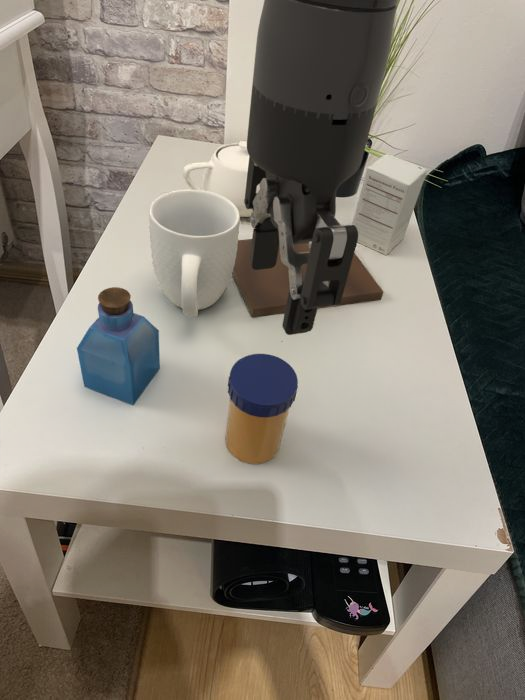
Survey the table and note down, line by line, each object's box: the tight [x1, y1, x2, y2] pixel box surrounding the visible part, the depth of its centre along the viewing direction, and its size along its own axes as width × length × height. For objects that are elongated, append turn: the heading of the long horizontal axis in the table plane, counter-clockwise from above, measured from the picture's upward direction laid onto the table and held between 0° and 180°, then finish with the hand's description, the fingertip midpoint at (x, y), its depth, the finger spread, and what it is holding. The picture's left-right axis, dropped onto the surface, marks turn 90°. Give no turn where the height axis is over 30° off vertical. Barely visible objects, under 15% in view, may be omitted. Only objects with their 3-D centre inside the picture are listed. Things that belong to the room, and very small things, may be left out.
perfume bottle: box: [76, 286, 161, 406], centre depth 56 cm, size 6×6×12 cm
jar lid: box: [227, 353, 299, 418], centre depth 50 cm, size 7×7×2 cm
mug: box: [148, 188, 241, 318], centre depth 66 cm, size 15×11×13 cm
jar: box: [224, 399, 290, 465], centre depth 53 cm, size 6×6×10 cm
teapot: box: [182, 140, 260, 218], centre depth 88 cm, size 22×14×11 cm, turn 109°
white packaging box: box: [351, 153, 428, 256], centre depth 84 cm, size 7×7×13 cm
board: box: [231, 238, 384, 318], centre depth 78 cm, size 20×16×2 cm
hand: (278, 296), depth 42 cm, fingers open, 7 cm apart
